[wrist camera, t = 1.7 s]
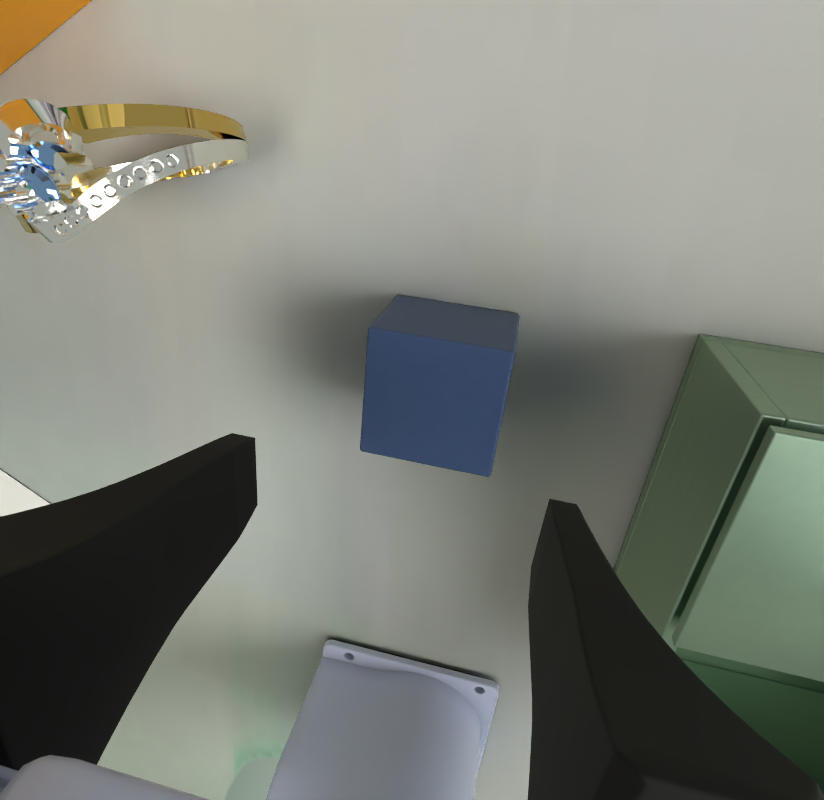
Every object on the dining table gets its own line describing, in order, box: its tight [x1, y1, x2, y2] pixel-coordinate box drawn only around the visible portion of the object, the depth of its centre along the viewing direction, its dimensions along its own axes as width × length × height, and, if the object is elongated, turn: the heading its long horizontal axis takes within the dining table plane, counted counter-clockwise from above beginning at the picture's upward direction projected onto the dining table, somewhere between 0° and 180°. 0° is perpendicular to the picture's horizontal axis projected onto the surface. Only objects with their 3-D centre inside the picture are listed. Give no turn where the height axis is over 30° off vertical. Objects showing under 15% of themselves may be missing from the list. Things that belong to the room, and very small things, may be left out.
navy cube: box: [360, 295, 520, 477], centre depth 19 cm, size 5×5×4 cm
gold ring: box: [0, 99, 250, 243], centre depth 16 cm, size 7×3×8 cm, turn 99°
